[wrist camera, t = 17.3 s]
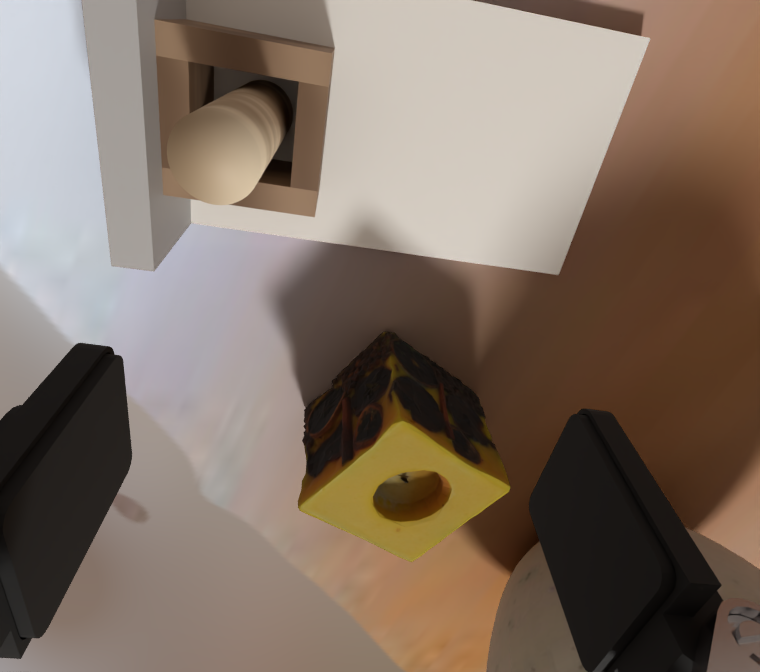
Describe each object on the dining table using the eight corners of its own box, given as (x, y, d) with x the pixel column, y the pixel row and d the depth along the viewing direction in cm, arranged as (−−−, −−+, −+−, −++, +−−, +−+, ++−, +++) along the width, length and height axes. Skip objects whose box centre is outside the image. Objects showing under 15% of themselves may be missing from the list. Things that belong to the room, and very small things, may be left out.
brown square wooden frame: (334, 47, 27) (332, 53, 22) (319, 189, 30) (314, 217, 26) (186, 19, 26) (154, 19, 21) (189, 169, 29) (163, 194, 25)
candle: (302, 408, 41) (290, 510, 32) (385, 323, 37) (396, 414, 28) (396, 464, 45) (408, 568, 36) (480, 392, 41) (515, 490, 32)
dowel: (295, 85, 27) (263, 118, 17) (290, 146, 29) (259, 211, 19) (234, 74, 27) (164, 102, 17) (233, 137, 29) (169, 198, 18)
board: (641, 37, 28) (734, 43, 21) (553, 268, 35) (602, 328, 28) (147, -68, 24) (70, -101, 18) (161, 213, 32) (111, 266, 25)
